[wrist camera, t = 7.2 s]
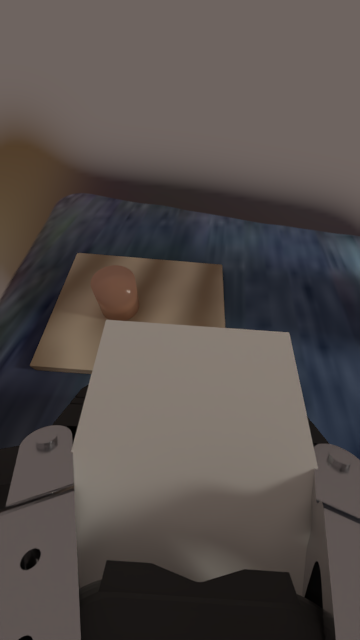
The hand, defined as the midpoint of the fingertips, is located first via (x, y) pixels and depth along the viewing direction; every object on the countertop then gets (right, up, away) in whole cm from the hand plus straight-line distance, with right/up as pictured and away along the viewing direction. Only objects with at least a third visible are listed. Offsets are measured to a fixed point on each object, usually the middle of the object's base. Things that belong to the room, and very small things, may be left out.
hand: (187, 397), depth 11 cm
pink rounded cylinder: (-6, +5, +11) cm, 14 cm away
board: (-4, +4, +12) cm, 14 cm away
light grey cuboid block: (0, -4, +3) cm, 5 cm away
